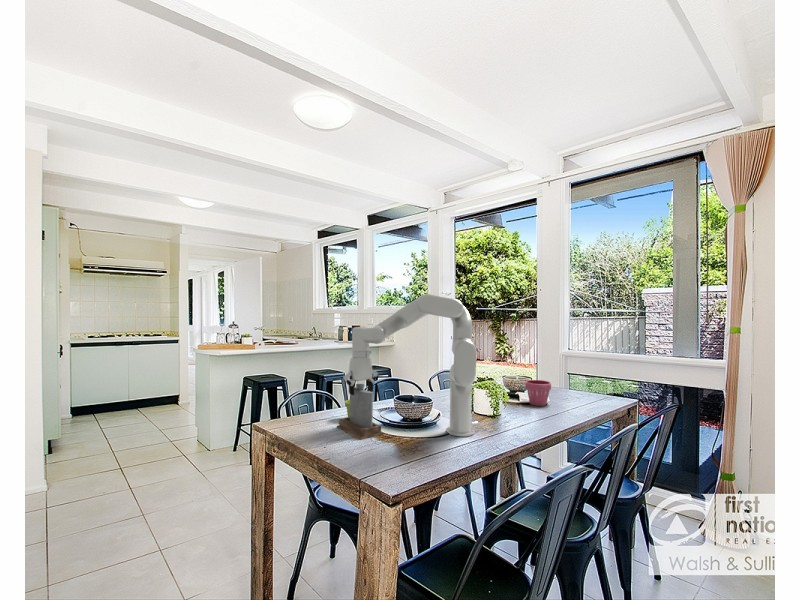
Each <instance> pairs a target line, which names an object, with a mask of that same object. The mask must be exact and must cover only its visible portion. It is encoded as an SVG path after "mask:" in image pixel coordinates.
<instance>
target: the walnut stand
mask: <svg viewBox="0 0 800 600" xmlns="http://www.w3.org/2000/svg"><path fill="white" fill-rule="evenodd" d="M338 419H339V421H338V424H339V425H336V428H337V429H338V430H340V431H342V432H344V433H346V434H348V435H349V436H352V437H354V438H355V439H357V440H365V439H369V438H375V437H379V436H384V432H383V431H382V425H380V424H377V423H375V422H373V421H372V427H369V428H365V429H364V428H362V427H360V426H358V425H356V424H354V423H351V422H350V417H348V416H346V417H342V418H338Z"/></svg>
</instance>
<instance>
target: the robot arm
mask: <svg viewBox="0 0 800 600" xmlns="http://www.w3.org/2000/svg"><path fill="white" fill-rule="evenodd" d="M427 315H433V316H437V317H443V318H449V319H451V322H452V346H451V352H452V354H453V364H452V365H451V367H450V369H449V391H450V392H449V426H448V427H446V428H445V432H446V431H447V432H448V433H449V434H448V433H447V432H446V433H447V434H448V435H450V436H455V437H470V436H473V435H474V434H475V429H474V427H476V426H478V425H479V422H478V421H477V420H475V421H472V392H473V391H472V384H473V383H474V382H475V380H476V373H477V372H476V371H477V348H476V345H475V344H474V342H473V321H472V317H471V314H470V313H469V310H468V309H467V308H466V307H465V306H464V304H463V303H462V301H460V300H459V299H457V298H452V297H451V298H450V297H446V296H445V297H444V296H440V295H434V294H430V293H426V294H425V293H424V294H422V295H420V296H419V297H418V298H416V299H414V300H413V301H411V302H409V303H408V304H406V305H404V306H403V307H401V308H400V309H398V310H397V311H395V312H394V313H393V314H392V315H390V316H389V317H387V318H385V319H383V321H381V322H379V323H378V324H376V325H375V326H373V327H366V326H356V327H353V328H352V329H351V330H352V331H351V335H352V336H351V342H352V344H351V345H352V346H351V347H352V351H351V352H352V353H351V354H352V356H351V357H350V360H349V366H348V372H347V373H346V374H345V375H343V380H344V381H345V383H346V384H347V385H348V393H349V395H350V394H351V395H354V387H355V384H356V383H357V382H360V381H367V391H371V392H373V393H374V383H375V381H376V379H377V377H378V374H379V373H378V371H376V370H374V369H373V364H372V359H371V356H370V355H371V354H372V351H370V344H375V345H378V344H379V345H380V344H382V343H384V342H385V340H386V339H387V338H388V337H390V336H392V335H393V334H395V333H397V332H398V331H400V330H403V329H405V328H408V327H410V326H412V325H413V324H414V323H417V322H418V321H420V320H421V319H423V318H424V317H426V316H427Z"/></svg>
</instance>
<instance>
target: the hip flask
mask: <svg viewBox="0 0 800 600" xmlns="http://www.w3.org/2000/svg"><path fill="white" fill-rule="evenodd" d="M364 387H365V384H364V383H357V384H356V383H355V386H354V395H351V394H349V400H350V422H351V423H354V424H356V425H358V426H360V427H362V428H364V429H365V428H369V427H372V422H373V418H374V417H373V413H374V412H373V409H374V408H373V407H374V403H373V402H374V391H373V392H371V391H368V390H366V389H364Z"/></svg>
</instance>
